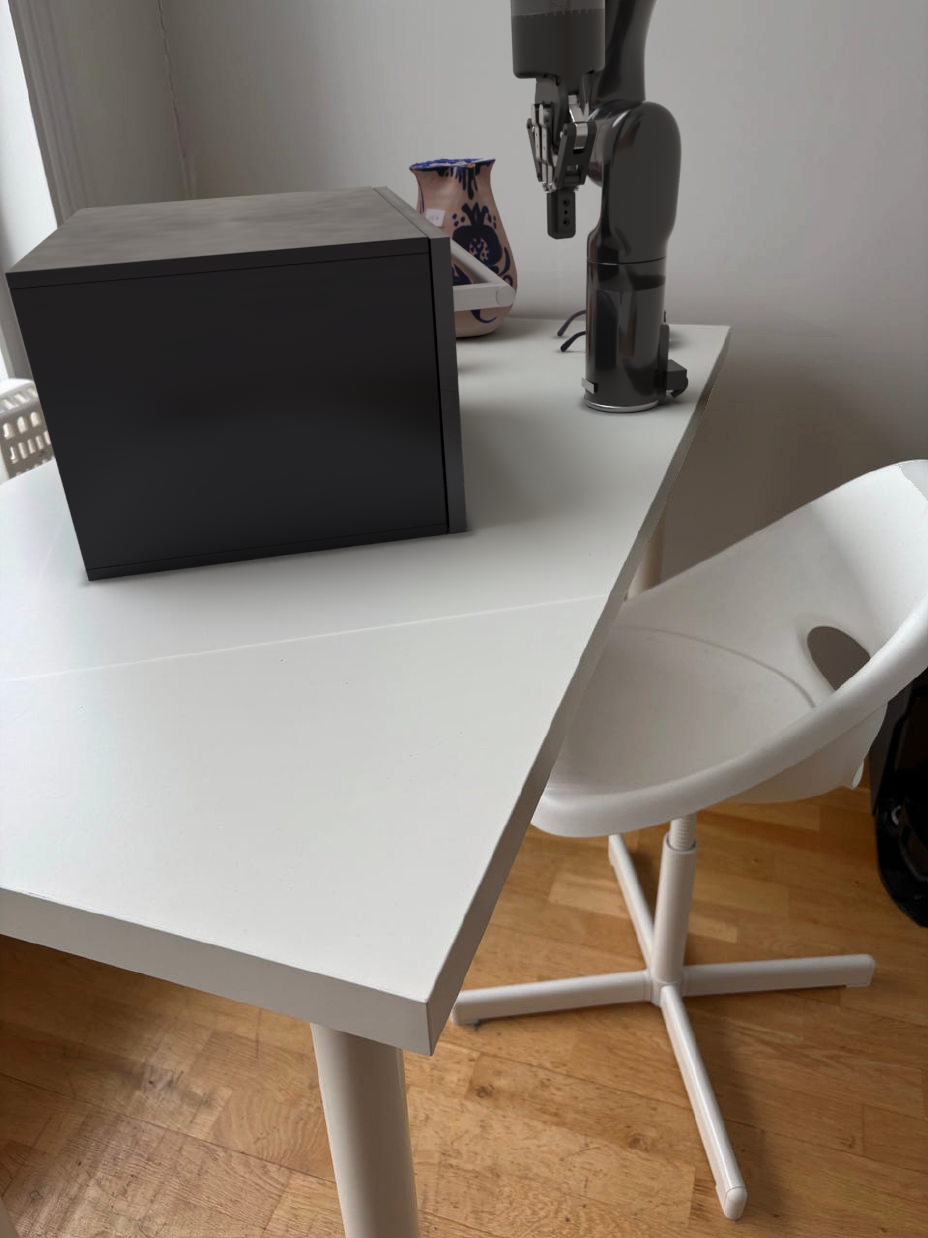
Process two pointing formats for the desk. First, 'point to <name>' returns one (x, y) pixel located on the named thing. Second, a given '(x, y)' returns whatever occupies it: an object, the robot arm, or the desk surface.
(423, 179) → the ceramic pitcher
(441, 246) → the oven door
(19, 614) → the desk surface
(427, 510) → the oven
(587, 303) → the robot arm
